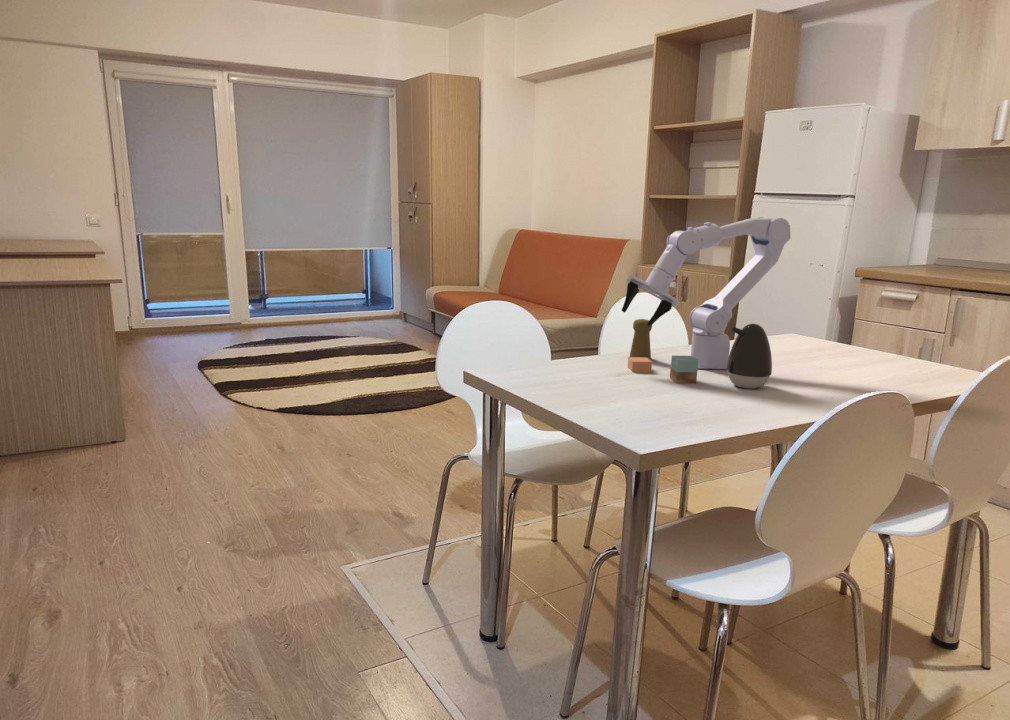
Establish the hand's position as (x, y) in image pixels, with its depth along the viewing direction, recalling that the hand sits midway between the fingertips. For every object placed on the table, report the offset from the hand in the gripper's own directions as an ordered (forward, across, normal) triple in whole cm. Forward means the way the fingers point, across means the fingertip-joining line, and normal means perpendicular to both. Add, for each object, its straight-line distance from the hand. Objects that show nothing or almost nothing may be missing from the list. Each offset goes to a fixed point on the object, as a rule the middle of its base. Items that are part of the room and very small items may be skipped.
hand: (635, 318), depth 178 cm
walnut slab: (+8, +19, -3) cm, 21 cm away
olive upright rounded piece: (+8, +3, +17) cm, 19 cm away
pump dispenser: (+1, +32, -2) cm, 32 cm away
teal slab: (+6, +18, -4) cm, 19 cm away
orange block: (+11, +7, +4) cm, 14 cm away
